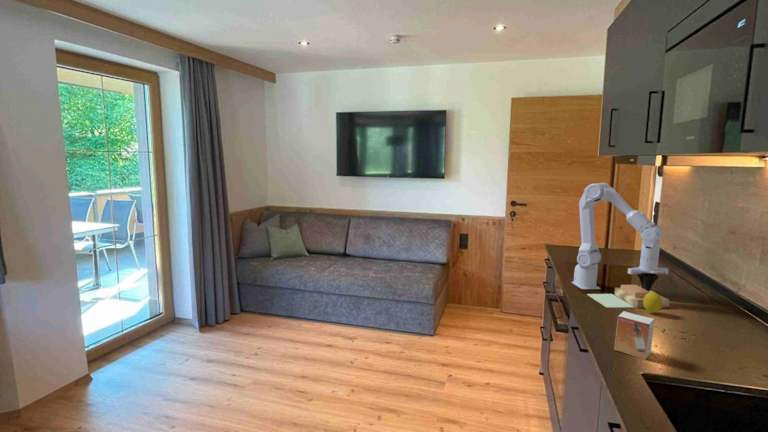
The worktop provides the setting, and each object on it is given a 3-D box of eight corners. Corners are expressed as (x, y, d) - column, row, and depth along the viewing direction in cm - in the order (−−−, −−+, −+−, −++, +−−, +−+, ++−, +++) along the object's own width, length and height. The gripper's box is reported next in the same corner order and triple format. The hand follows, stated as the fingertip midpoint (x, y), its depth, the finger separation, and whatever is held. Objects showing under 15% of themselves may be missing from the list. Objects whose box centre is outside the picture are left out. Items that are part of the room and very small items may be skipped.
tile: (620, 289, 160) (620, 284, 160) (635, 289, 161) (635, 284, 160) (635, 297, 152) (635, 292, 151) (650, 297, 152) (651, 292, 151)
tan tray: (614, 294, 163) (615, 287, 163) (643, 294, 164) (644, 287, 163) (636, 307, 150) (637, 300, 149) (668, 307, 150) (669, 300, 149)
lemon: (657, 317, 141) (660, 295, 140) (639, 312, 145) (642, 291, 144) (663, 313, 144) (665, 292, 143) (645, 309, 148) (647, 288, 147)
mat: (587, 294, 163) (587, 293, 163) (611, 294, 163) (611, 293, 163) (607, 308, 149) (607, 307, 149) (634, 307, 149) (634, 306, 149)
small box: (613, 350, 117) (617, 315, 115) (619, 344, 121) (623, 310, 119) (645, 360, 111) (649, 324, 110) (651, 353, 115) (655, 318, 114)
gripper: (637, 260, 150) (633, 295, 152) (676, 260, 150) (671, 295, 152) (625, 255, 157) (622, 289, 159) (662, 255, 157) (658, 289, 159)
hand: (645, 292), depth 156 cm, fingers closed
